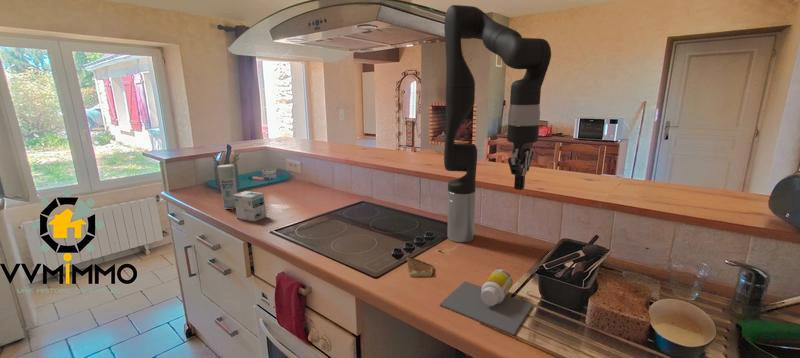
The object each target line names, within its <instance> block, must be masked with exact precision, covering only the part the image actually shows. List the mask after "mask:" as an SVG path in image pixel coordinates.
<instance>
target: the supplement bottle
mask: <svg viewBox="0 0 800 358" xmlns="http://www.w3.org/2000/svg"><path fill="white" fill-rule="evenodd" d="M513 285H514V284H513V277H512V275H511V274H510V273H509V272H507V270H504V269H500V268H499V269H495V270H494V271H492V272H491V274H490V275H489V277H488V278H487V279H486V280H485V282H483V285H482V286H481V287H482V289H481V292H482V293H481V299H482V301H483V302H484V303H485V304H487V305H489V306H494V305H495V304H499V303H501V302H502V301H503V299H504V298H505V296H506V295H508V292H509V291H510V289H511V288H512V287H513Z"/></svg>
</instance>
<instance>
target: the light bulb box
mask: <svg viewBox="0 0 800 358" xmlns="http://www.w3.org/2000/svg"><path fill="white" fill-rule="evenodd" d="M234 201H235V207H236V209H235V213H236V214H235V215H236V219H237V218H239V219H238V220H244V221H249V222H253V221H254V223H255V222H257V221H260V220H262V219H264V218H267V210H266V202H265V194H264V192H255V191H249V190H247V191H246V190H245V191H242V192H237V194H234Z"/></svg>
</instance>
